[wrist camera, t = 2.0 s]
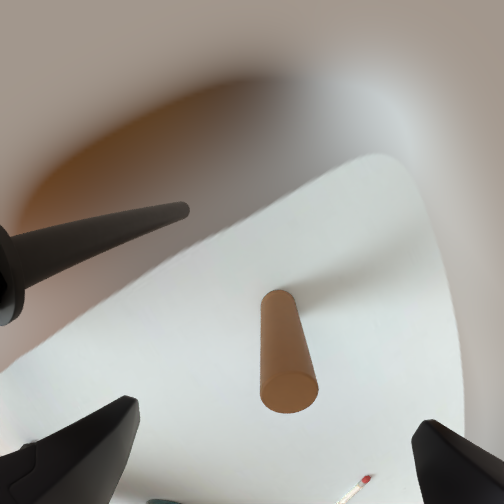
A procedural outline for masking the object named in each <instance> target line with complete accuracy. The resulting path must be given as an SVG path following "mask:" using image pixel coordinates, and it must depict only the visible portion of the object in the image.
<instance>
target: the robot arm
mask: <svg viewBox="0 0 504 504" xmlns="http://www.w3.org/2000/svg"><path fill="white" fill-rule="evenodd" d="M6 290H7V283H6V281H5V279H4V277H3V275H2V273H1V272H0V304H1V298H2V297H3V295H4V293H5V292H6ZM139 423H140V412H139V403H138V400H137V399H136V398H133V397H130V396H126V395H125V396H122V397H120V398H118V399H117V400H115V401H113V402H111V403H109V404H108V405H106V406H104V407H102V408H101V409H99V410H97V411H95V412H93V413H91V414H90V415H88V416H86V417H84V418H82V419H80V420H78V421H77V422H75V423H73V424H71V425H69V426H67V427H65V428H63V429H61V430H59V431H57V432H55V433H53V434H51V435H49V436H47V437H45V438H43V439H41V440H39V441H37V442H36V444H35V443H33V444H31V445H29V446H27V447H25V448H22V449H20V450H18V451H15V452H13V453H10V454H7V455H4V456H1V457H0V504H109V501H110V499H111V497H112V495H113V493H114V490H115V488H116V486H117V484H118V482H119V480H120V477H121V475H122V473H123V471H124V469H125V466H126V464H127V461H128V458H129V455H130V452H131V449H132V445H133V442H134V439H135V436H136V433H137V429H138V426H139ZM411 444H412V449H413V454H414V460H415V466H416V473H417V478H418V482H419V486H420V490H421V493H422V497H423V502H424V504H504V462H503V461H502V460H501V459H499V458H497V457H495V456H494V455H492V454H490V453H489V452H487V451H485V450H483V449H482V448H480V447H478V446H476V445H475V444H473V443H472V442H470V441H468V440H467V439H465V438H463V437H462V436H460V435H458V434H457V433H455V432H454V431H452V430H450V429H449V428H447V427H445V426H444V425H442V424H441V423H439V422H437V421H436V420H434V419H430V420H424V421H423V422H422V423H421V424H420V426H419V427H418V429H417V430H416V432H415V433H414V435H413V436H412V440H411Z"/></svg>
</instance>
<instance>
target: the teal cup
mask: <svg viewBox="0 0 504 504" xmlns="http://www.w3.org/2000/svg"><path fill="white" fill-rule="evenodd" d="M146 504H180V503H176V502H172V501H166V500H149V501H147V502H146Z"/></svg>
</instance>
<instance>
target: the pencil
mask: <svg viewBox="0 0 504 504" xmlns="http://www.w3.org/2000/svg"><path fill="white" fill-rule="evenodd" d="M370 479H371V477H370V476H365V477H364V478H363V479H362V480H361V481H360V482H359V483H358V484H357V485H356V486H355V487H354V488H353V489H352V490H351V491H350V492H349V493H347V494H346V495H345V496H344V497H343V498H342V499H341V500H340V501H339V502H338V503H336V504H345V503H346V502H347V501H348V500H349V499H350V498H352V497H353V496H354V495H355V494H356V493H357V492H358V491H359V490H360V489H361V488H362V487H363V486H365V485H366V484H367V483H368V482H369V481H370Z"/></svg>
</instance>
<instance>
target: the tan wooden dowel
mask: <svg viewBox="0 0 504 504" xmlns="http://www.w3.org/2000/svg"><path fill="white" fill-rule="evenodd" d="M318 390H319V389H318V383H317V380H316V376H315V372H314V368H313V365H312V361H311V357H310V354H309V350H308V346H307V343H306V339H305V335H304V332H303V328H302V325H301V321H300V318H299V314H298V311H297V307H296V304H295V300H294V298H293V297H292V295H291V294H289V293H288V292H286V291H283V290H275V291H271V292H269V293H268V294H267V295H266V296H265V297H264V298H263V300H262V302H261V354H260V397H261V400H262V402H263V403H264V405H265V406H266V407H268V408H269V409H270V410H272V411H275V412H278V413H295V412H299V411H302V410H304V409H306V408H307V407H309V406H310V405H311V404H312V403H313V402H314V401H315V399H316V397H317V395H318Z"/></svg>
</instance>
